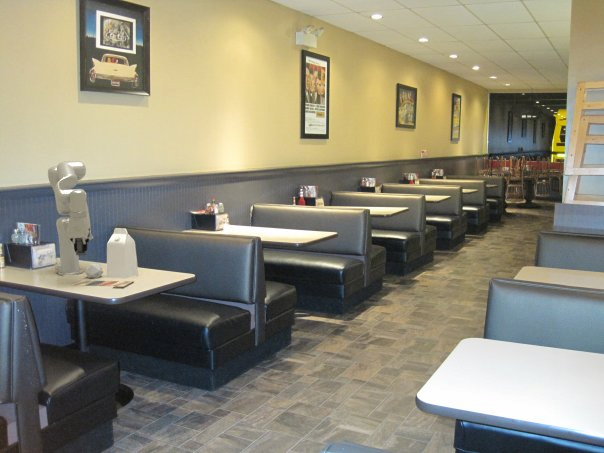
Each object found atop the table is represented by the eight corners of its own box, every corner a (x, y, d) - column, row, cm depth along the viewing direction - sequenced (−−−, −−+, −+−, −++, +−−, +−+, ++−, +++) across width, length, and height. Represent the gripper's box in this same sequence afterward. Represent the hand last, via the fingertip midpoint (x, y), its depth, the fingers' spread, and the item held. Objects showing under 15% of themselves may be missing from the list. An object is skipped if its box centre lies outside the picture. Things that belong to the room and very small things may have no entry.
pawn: (74, 255, 298) (72, 235, 297) (78, 253, 303) (77, 234, 302) (83, 255, 298) (82, 235, 297) (87, 253, 303) (86, 234, 301)
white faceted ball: (92, 282, 310) (103, 266, 312) (79, 273, 311) (90, 258, 313) (98, 284, 318) (108, 269, 320) (84, 276, 319) (95, 261, 321)
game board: (69, 287, 297) (69, 285, 296) (82, 281, 309) (82, 280, 309) (123, 288, 293) (123, 286, 293) (133, 282, 306) (133, 281, 306)
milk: (138, 275, 324) (136, 227, 321) (126, 279, 313) (124, 230, 310) (118, 274, 328) (116, 227, 324) (106, 278, 317) (104, 229, 313)
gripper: (59, 215, 295) (61, 252, 298) (90, 216, 293) (92, 253, 296) (67, 214, 303) (69, 250, 305) (98, 214, 301) (100, 250, 303)
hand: (80, 251), depth 300 cm, fingers closed on pawn, 3 cm apart
